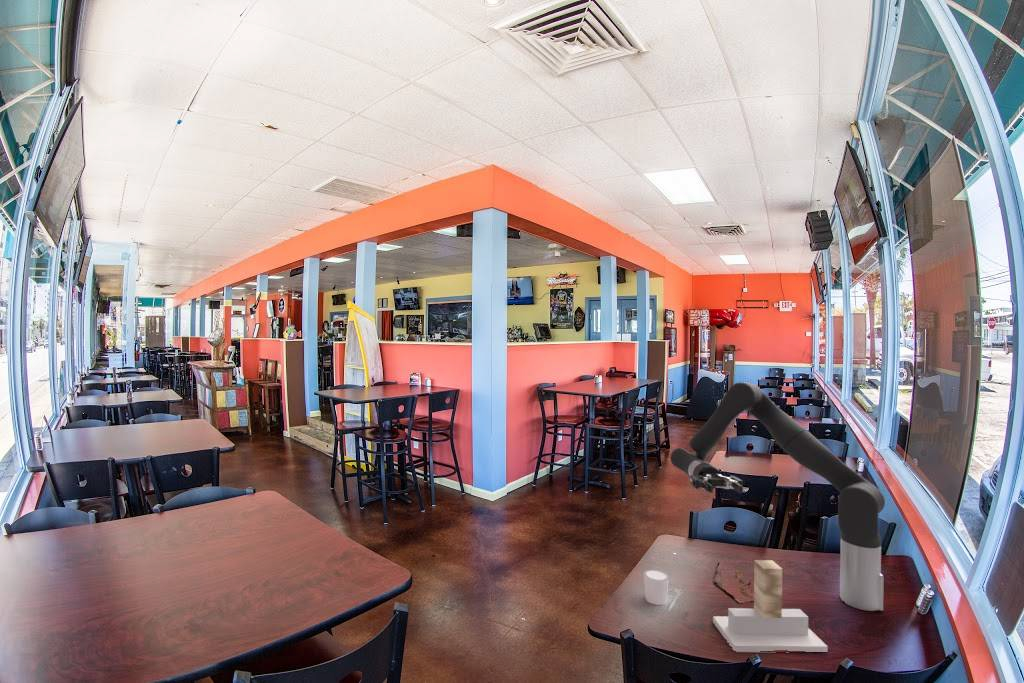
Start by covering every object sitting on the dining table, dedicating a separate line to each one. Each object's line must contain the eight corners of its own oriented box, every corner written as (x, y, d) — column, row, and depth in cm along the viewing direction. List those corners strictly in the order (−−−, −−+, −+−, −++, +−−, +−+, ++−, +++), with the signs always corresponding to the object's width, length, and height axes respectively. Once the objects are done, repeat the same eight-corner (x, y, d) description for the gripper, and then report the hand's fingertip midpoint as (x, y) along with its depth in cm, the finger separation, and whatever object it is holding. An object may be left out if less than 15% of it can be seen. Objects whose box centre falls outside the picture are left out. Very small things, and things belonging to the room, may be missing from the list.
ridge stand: (797, 622, 126) (797, 599, 126) (827, 652, 114) (828, 627, 114) (713, 622, 126) (713, 599, 126) (734, 652, 114) (734, 626, 114)
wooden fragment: (762, 608, 133) (762, 604, 133) (720, 602, 136) (720, 598, 136) (741, 565, 158) (741, 562, 158) (705, 562, 161) (705, 558, 161)
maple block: (771, 607, 122) (772, 560, 122) (781, 617, 117) (782, 568, 117) (753, 607, 122) (754, 560, 122) (763, 617, 117) (763, 568, 117)
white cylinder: (670, 596, 138) (670, 572, 138) (667, 608, 132) (667, 583, 132) (645, 590, 141) (645, 567, 141) (641, 602, 135) (641, 577, 135)
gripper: (682, 462, 157) (702, 476, 140) (726, 462, 157) (750, 477, 140) (681, 485, 157) (701, 502, 140) (725, 485, 157) (750, 502, 140)
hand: (726, 489), depth 140 cm, fingers open, 8 cm apart
